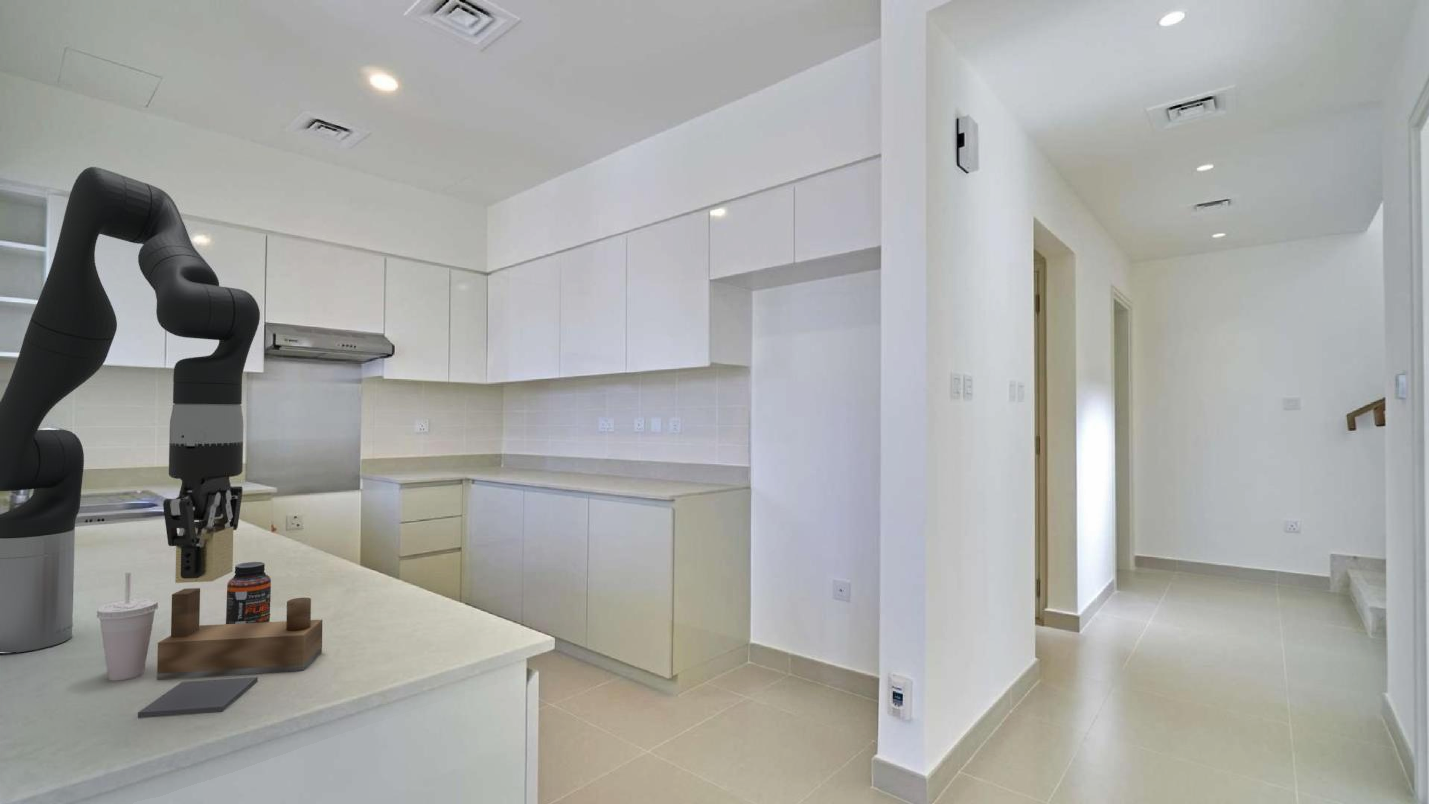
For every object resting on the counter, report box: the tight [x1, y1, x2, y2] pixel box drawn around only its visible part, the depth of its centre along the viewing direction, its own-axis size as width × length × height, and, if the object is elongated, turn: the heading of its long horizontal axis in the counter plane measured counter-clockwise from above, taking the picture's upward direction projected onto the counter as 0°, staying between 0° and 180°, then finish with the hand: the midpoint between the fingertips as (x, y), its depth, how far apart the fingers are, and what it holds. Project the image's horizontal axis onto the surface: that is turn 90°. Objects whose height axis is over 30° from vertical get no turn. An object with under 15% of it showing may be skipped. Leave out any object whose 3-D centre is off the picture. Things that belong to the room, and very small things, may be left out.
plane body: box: [156, 587, 323, 681], centre depth 95 cm, size 18×7×11 cm, turn 102°
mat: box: [137, 676, 259, 718], centre depth 84 cm, size 9×9×1 cm
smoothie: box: [96, 572, 159, 681], centre depth 91 cm, size 6×6×14 cm
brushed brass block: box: [174, 524, 234, 584], centre depth 84 cm, size 4×5×7 cm
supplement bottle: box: [225, 561, 272, 624], centre depth 108 cm, size 6×6×11 cm
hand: (204, 571), depth 84 cm, fingers closed on brushed brass block, 5 cm apart
